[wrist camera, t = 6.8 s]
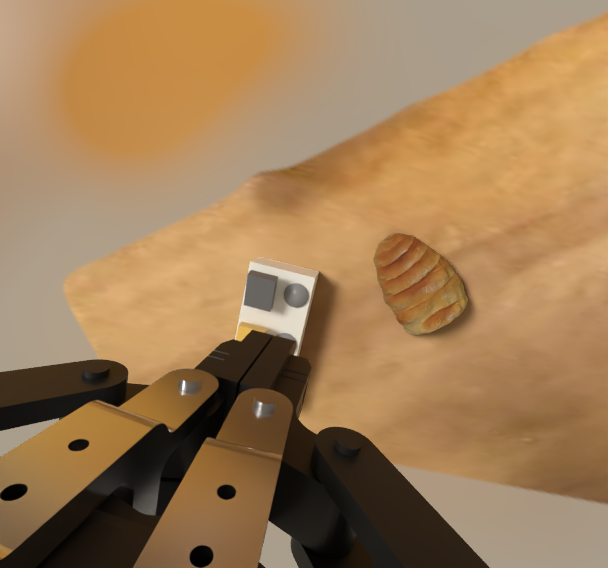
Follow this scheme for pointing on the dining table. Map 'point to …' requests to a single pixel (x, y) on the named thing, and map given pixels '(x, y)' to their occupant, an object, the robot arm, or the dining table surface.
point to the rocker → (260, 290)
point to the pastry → (418, 284)
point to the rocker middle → (247, 330)
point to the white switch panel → (284, 300)
